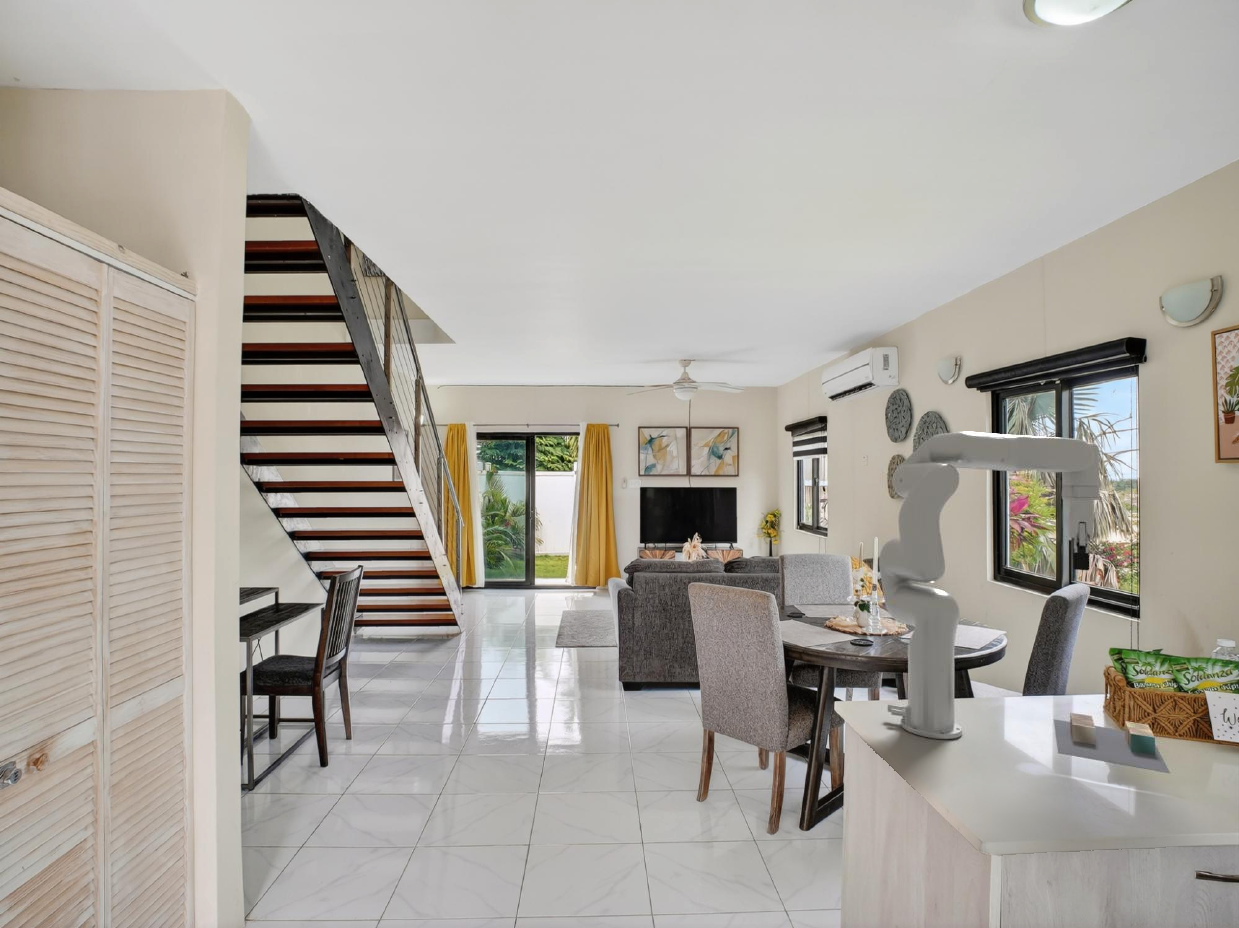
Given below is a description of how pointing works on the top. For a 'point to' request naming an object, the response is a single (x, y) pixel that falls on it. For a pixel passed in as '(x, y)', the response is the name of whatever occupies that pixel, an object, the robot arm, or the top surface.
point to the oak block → (1139, 737)
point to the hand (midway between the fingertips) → (1081, 569)
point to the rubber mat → (1106, 748)
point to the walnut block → (1082, 728)
